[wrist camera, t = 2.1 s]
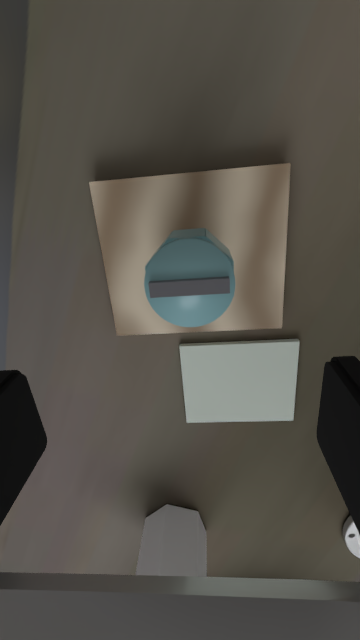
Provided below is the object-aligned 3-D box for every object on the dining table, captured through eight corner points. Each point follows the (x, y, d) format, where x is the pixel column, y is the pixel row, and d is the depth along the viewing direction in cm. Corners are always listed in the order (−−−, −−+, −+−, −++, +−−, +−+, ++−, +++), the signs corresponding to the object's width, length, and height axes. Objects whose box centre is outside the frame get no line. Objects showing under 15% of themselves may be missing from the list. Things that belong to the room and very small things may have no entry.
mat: (297, 338, 31) (299, 341, 31) (291, 416, 35) (293, 420, 35) (179, 343, 32) (179, 346, 32) (186, 419, 36) (186, 422, 36)
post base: (285, 164, 25) (320, 155, 18) (278, 321, 31) (302, 364, 23) (94, 182, 26) (53, 181, 19) (120, 329, 32) (96, 371, 25)
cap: (228, 226, 23) (235, 237, 18) (229, 300, 26) (236, 328, 21) (150, 232, 24) (136, 244, 19) (159, 304, 26) (148, 332, 21)
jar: (138, 506, 43) (116, 617, 32) (195, 499, 42) (192, 611, 31) (158, 546, 46) (144, 658, 35) (211, 540, 45) (213, 655, 34)
